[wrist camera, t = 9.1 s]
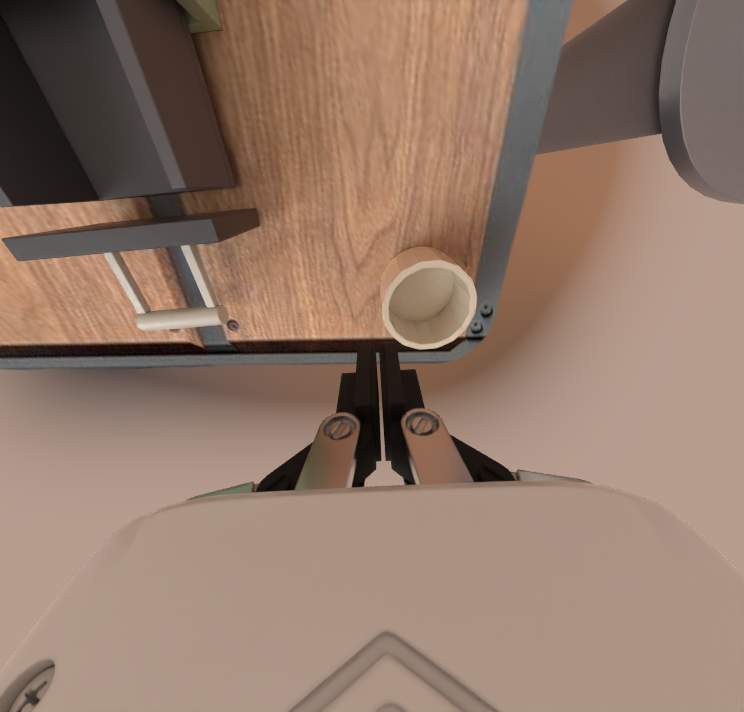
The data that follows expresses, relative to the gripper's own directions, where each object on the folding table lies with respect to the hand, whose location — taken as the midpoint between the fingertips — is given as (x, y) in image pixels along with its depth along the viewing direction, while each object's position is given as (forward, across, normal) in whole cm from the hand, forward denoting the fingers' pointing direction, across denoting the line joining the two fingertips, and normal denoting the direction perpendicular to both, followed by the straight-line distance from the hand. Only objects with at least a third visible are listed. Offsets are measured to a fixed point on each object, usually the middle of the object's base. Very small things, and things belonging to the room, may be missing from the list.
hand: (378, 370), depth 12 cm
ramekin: (+14, -4, +1) cm, 14 cm away
